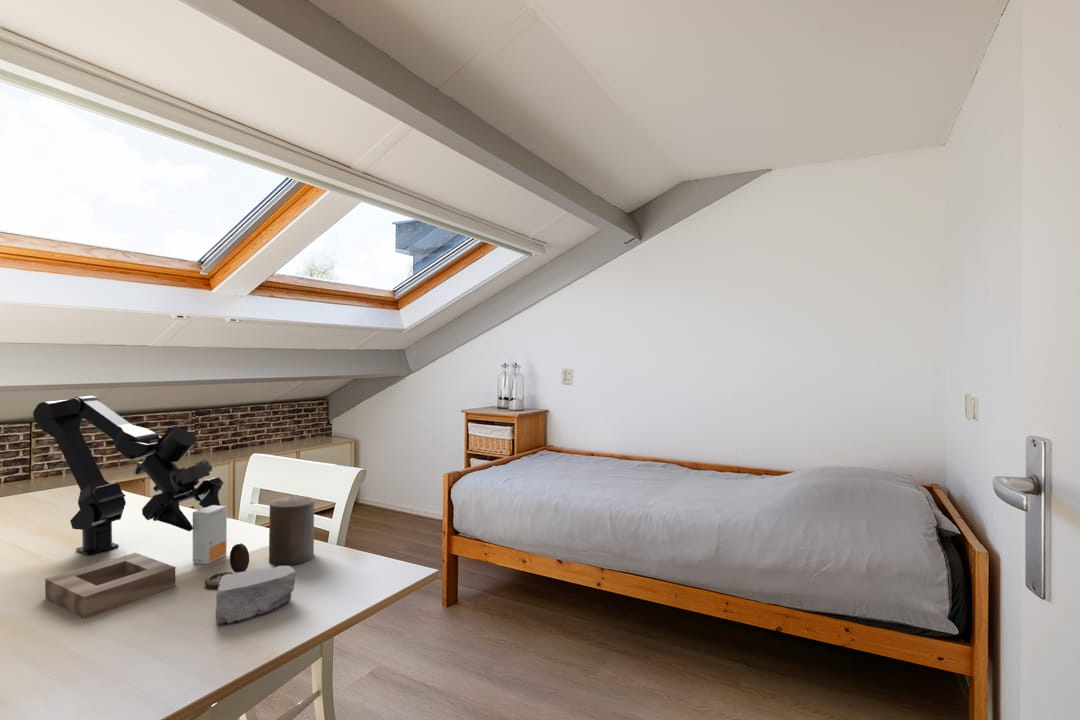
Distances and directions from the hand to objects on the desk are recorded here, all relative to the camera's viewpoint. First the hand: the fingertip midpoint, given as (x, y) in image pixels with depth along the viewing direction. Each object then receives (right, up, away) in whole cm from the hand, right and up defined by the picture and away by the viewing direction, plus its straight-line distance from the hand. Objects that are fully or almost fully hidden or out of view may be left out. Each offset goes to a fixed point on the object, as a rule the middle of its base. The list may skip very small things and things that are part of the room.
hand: (207, 523), depth 132 cm
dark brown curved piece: (+12, -9, -13) cm, 20 cm away
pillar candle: (+20, -9, +1) cm, 21 cm away
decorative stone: (+23, -10, -24) cm, 35 cm away
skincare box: (+1, -9, 0) cm, 9 cm away
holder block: (-9, -9, -17) cm, 21 cm away
